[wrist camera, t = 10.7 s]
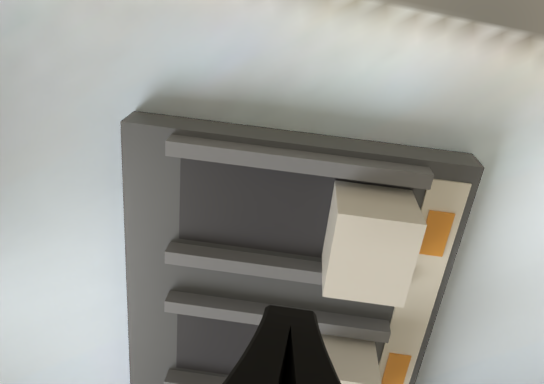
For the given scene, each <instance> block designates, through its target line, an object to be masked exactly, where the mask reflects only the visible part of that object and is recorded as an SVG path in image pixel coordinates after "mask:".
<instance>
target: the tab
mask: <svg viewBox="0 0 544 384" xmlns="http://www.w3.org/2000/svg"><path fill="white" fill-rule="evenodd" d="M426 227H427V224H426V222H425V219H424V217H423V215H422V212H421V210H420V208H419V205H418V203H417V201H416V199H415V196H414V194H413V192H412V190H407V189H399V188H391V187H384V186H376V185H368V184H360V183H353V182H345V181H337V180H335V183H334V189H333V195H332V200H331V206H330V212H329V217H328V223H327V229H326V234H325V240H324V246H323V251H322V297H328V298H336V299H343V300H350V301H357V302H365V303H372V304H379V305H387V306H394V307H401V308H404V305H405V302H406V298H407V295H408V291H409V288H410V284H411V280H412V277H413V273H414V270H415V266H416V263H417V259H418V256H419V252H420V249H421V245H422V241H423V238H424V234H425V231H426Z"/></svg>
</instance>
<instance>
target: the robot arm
mask: <svg viewBox="0 0 544 384" xmlns="http://www.w3.org/2000/svg"><path fill="white" fill-rule="evenodd" d="M222 384H341V382H340V380H339V378H338V376H337V373H336V371H335V369H334V366H333V364H332V362H331V359H330V357H329V354H328V352H327V349H326V347H325V344H324V341H323V338H322V335H321V332H320V329H319V325H318V321H317V316H316V314H315V313H314V312H313V311H310V310H303V309H296V308H289V307H281V306H274V305H269V306H267V307H265V310H264V314H263V317H262V319H261V322H260V324H259V326H258V328H257V330H256V332H255V334H254V336H253V338H252V339H251V341H250V343H249V345H248V346H247V348H246V350H245V351H244V353H243V355H242V356H241V358H240V359H239V361H238V362H237V364H236V365H235V367H234V368H233V369H232V371H231V372H230V374H229V375H228V377H227V378H226V379H225V381H224V382H223V383H222Z"/></svg>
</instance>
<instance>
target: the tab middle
mask: <svg viewBox="0 0 544 384" xmlns="http://www.w3.org/2000/svg"><path fill="white" fill-rule="evenodd" d="M321 335H322V338H323V341H324V344H325V347H326V349H327V352H328V354H329V357H330V359H331V362H332V364H333V366H334V369H335V371H336V373H337V376H338V378H339V380H340V382H341V384H381V378H380V372H379V365H378V359H377V352H376V346H375V341H368V340H361V339H354V338H347V337H340V336H332V335H325V334H321Z"/></svg>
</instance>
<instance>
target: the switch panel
mask: <svg viewBox="0 0 544 384" xmlns="http://www.w3.org/2000/svg"><path fill="white" fill-rule="evenodd" d="M121 147H122V174H123V201H124V228H125V255H126V281H127V308H128V335H129V362H130V384H222V383H223V382H224V381H225V379H226V378H227V377H228V375H229V374H230V372H231V371H232V369H233V368H234V367H235V365H236V364H237V362H238V361H239V359H240V358H241V356H242V355H243V353H244V351H245V350H246V348H247V346H248V345H249V343H250V341H251V339H252V338H253V336H254V334H255V332H256V330H257V328H258V326H259V324H260V322H261V319H262V317H263V314H264V310H265V307H267V306H269V305H274V306H281V307H289V308H296V309H303V310H310V311H313V312H314V313H315V314H316V316H317V321H318V325H319V329H320V332H321V334H325V335H332V336H340V337H347V338H354V339H361V340H368V341H375V346H376V352H377V359H378V365H379V372H380V378H381V384H415V381H416V378H417V375H418V372H419V369H420V366H421V363H422V360H423V357H424V353H425V350H426V347H427V344H428V341H429V338H430V335H431V332H432V329H433V325H434V322H435V319H436V316H437V313H438V310H439V307H440V304H441V301H442V298H443V294H444V291H445V288H446V285H447V282H448V279H449V276H450V273H451V270H452V266H453V263H454V260H455V257H456V254H457V251H458V248H459V245H460V242H461V239H462V235H463V232H464V229H465V226H466V223H467V220H468V217H469V214H470V211H471V207H472V204H473V201H474V198H475V195H476V192H477V189H478V186H479V183H480V180H481V176H482V173H483V170H484V167H483V166H482V164H481V163H480V162H479V161H478V160H477V158H476V157H475V156H474V155H473V154H470V153H462V152H455V151H447V150H439V149H431V148H423V147H415V146H407V145H399V144H391V143H383V142H375V141H367V140H359V139H351V138H343V137H335V136H327V135H319V134H311V133H304V132H296V131H288V130H280V129H272V128H264V127H256V126H248V125H240V124H232V123H224V122H216V121H208V120H200V119H192V118H184V117H176V116H168V115H161V114H153V113H145V112H137V111H134V112H132V113H131V114H130V115H128V116H127V117H126V118H125V119H123V120H122V121H121ZM335 180H337V181H345V182H353V183H360V184H368V185H376V186H384V187H391V188H399V189H407V190H412V192H413V194H414V196H415V199H416V201H417V203H418V205H419V208H420V210H421V212H422V215H423V217H424V219H425V222H426V224H427V227H426V231H425V234H424V238H423V241H422V245H421V249H420V252H419V256H418V259H417V263H416V266H415V270H414V273H413V277H412V280H411V284H410V288H409V291H408V295H407V298H406V302H405V305H404V308H401V307H394V306H387V305H379V304H372V303H365V302H357V301H350V300H343V299H336V298H328V297H322V251H323V246H324V240H325V234H326V229H327V223H328V217H329V212H330V206H331V200H332V195H333V189H334V183H335Z"/></svg>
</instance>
